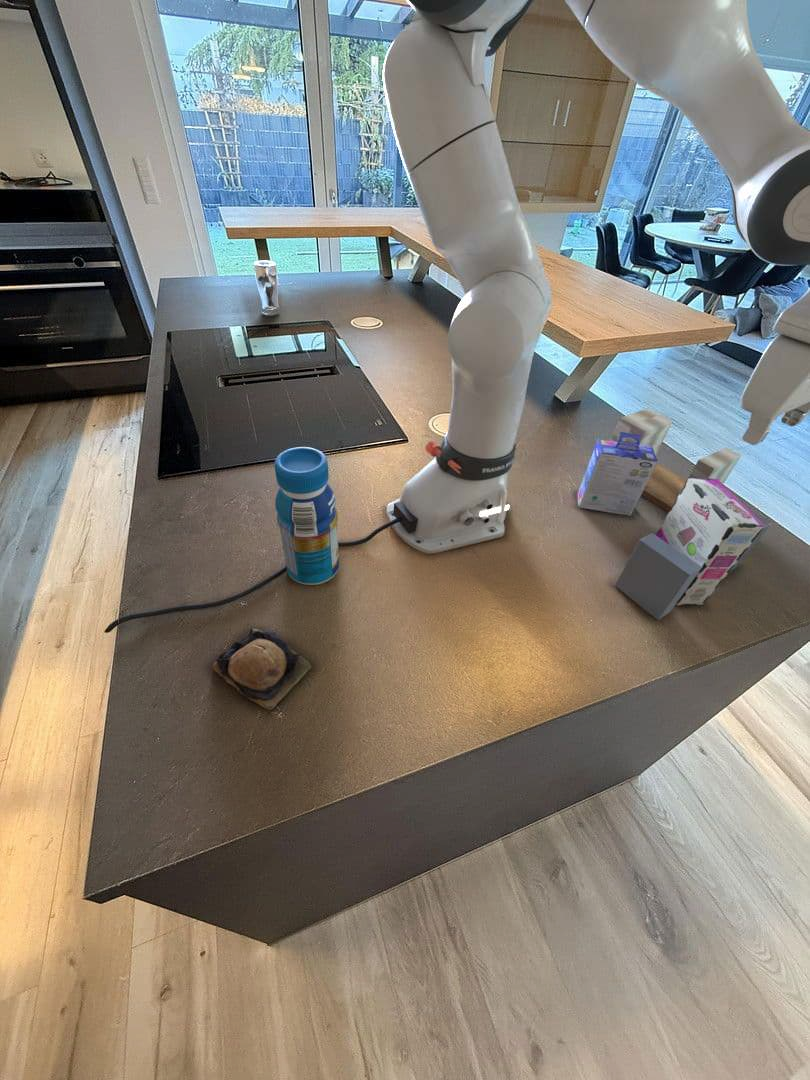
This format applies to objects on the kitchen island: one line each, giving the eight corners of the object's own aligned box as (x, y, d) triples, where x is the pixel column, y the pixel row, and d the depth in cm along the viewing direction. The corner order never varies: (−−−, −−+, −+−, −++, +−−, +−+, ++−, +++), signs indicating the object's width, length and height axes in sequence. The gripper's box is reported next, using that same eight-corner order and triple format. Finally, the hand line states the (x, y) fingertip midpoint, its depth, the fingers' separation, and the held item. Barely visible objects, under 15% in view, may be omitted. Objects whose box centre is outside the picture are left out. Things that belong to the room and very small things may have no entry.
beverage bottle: (274, 571, 71) (252, 462, 58) (311, 541, 77) (299, 435, 63) (315, 596, 68) (302, 487, 55) (351, 563, 74) (347, 457, 60)
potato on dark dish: (315, 666, 60) (313, 650, 57) (267, 716, 55) (262, 701, 52) (258, 625, 64) (253, 609, 61) (207, 669, 59) (200, 653, 56)
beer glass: (257, 315, 155) (249, 264, 145) (265, 308, 160) (258, 259, 150) (277, 317, 155) (271, 266, 144) (284, 311, 160) (279, 261, 149)
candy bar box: (705, 606, 71) (768, 526, 60) (674, 607, 71) (733, 527, 59) (669, 554, 79) (718, 476, 68) (641, 555, 79) (687, 476, 68)
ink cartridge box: (627, 499, 90) (659, 434, 80) (631, 517, 86) (666, 450, 76) (576, 491, 91) (601, 425, 81) (578, 508, 87) (605, 441, 77)
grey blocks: (657, 620, 69) (689, 575, 62) (614, 585, 73) (639, 539, 66) (737, 566, 78) (772, 522, 71) (694, 538, 83) (723, 494, 76)
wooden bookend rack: (695, 528, 85) (727, 479, 77) (597, 466, 99) (616, 418, 91) (727, 510, 90) (761, 461, 82) (629, 453, 103) (650, 406, 96)
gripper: (859, 292, 53) (785, 403, 63) (771, 315, 45) (701, 439, 54) (925, 309, 50) (836, 424, 59) (843, 337, 41) (754, 466, 50)
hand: (770, 432), depth 57 cm, fingers open, 8 cm apart
